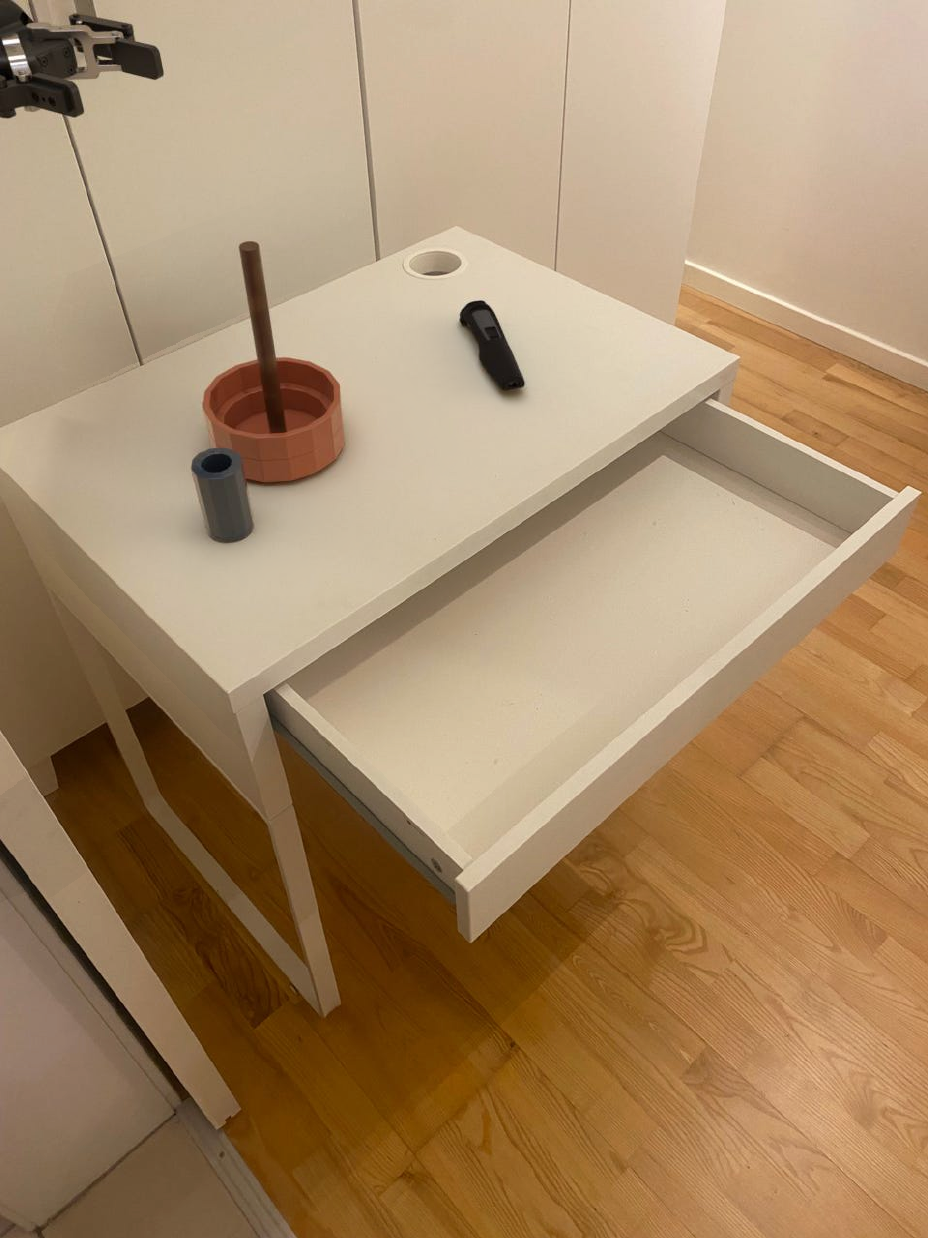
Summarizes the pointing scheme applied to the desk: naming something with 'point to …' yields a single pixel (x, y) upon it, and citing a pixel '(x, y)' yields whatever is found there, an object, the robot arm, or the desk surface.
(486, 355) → the electric trimmer
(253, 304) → the stick
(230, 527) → the tube
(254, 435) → the bowl
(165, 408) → the desk surface
